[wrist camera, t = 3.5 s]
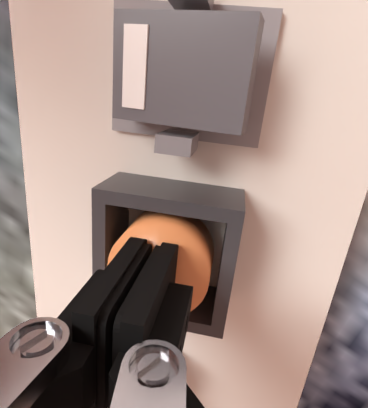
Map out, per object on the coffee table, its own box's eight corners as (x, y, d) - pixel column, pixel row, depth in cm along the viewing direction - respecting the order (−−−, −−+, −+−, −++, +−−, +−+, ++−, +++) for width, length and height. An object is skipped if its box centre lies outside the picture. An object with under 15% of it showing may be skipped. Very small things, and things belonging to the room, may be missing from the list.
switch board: (395, -16, 11) (522, -108, 6) (280, 386, 19) (295, 496, 14) (52, -34, 13) (-67, -117, 8) (69, 339, 20) (12, 420, 15)
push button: (220, 213, 11) (216, 236, 9) (208, 293, 13) (202, 327, 11) (128, 199, 12) (107, 218, 10) (125, 277, 13) (106, 307, 11)
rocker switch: (264, 20, 9) (260, 10, 8) (246, 132, 10) (240, 136, 9) (130, 17, 10) (112, 7, 9) (127, 116, 11) (110, 117, 10)
